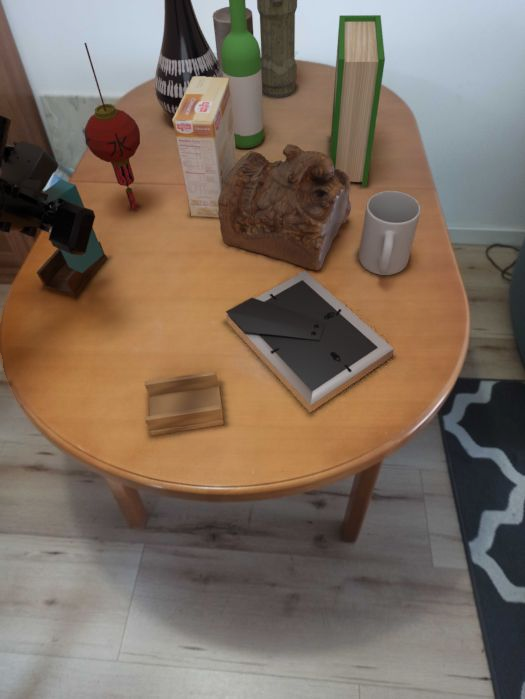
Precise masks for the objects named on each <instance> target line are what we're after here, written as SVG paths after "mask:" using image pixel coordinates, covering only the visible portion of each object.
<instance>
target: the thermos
mask: <svg viewBox="0 0 525 699" xmlns="http://www.w3.org/2000/svg"><path fill="white" fill-rule="evenodd" d="M256 8H257V12H258V15H259V30H260V32H259V33H260V34H259V35H260V54H261V74H262V95H264V96H267V97H269V98H275V99H276V98H278V99H279V98H285V97H289V96H291V95H293V94H294V93H295V92H296V89H297V86H296V85H297V84H296V81H297V78H298V77H297V74H298V68H297V67H298V65H297V62H296V59H295V58H296V56H295V52H296V51H295V49H296V46H295V45H296V44H295V43H296V12H297V8H298V0H256Z"/></svg>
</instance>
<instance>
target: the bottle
mask: <svg viewBox="0 0 525 699" xmlns="http://www.w3.org/2000/svg"><path fill="white" fill-rule="evenodd" d="M246 6H247V5H246V0H228V7H229V8H230V22H231V32H230V33H229V34H228V35H227V37H226V38H225V40H224V42H223V44H222V48H221V59H222V70H223V78H229V87H230V97H231V107H232V118H233V128H234V138H235V148H239V149H252V148H255V147H257V146H259V145H260V144H261V143H262V142H263V141H264V136H265V130H264V129H265V128H264V127H265V126H264V125H265V124H264V101H263V93H262V74H261V47H260V43H259V41H258V39H256V37H255V36H254V34H253V35H252V34H251V33H250V32H249V31H248V30H247V20H246V8H247V7H246Z"/></svg>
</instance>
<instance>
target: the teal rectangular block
mask: <svg viewBox="0 0 525 699" xmlns="http://www.w3.org/2000/svg"><path fill="white" fill-rule="evenodd" d="M43 192H44V193H47V194H48V198H47V202H46V203H45V204H48V203H49V202H50V201H54V202H57V203H58V200H59V198H61V199H63V200H66V201H68V202H71V203H74V204H77V205H80V206H82V207H85V205H84V202H83V200H82V198H81V194H80V193H79V190H78V187H77V185H76V184H75V183H72V182H69V181H67V180H64V179H59V180H58V181H57V182H55V183H54V184H52V185H51V186H50V187H48V188H47V189H46V190H44V191H43ZM45 213H46V214H48V212H45ZM99 242H100V241H99V239H98V237H97V235H96V232H95V229H94V226H93V227H92V230H91V234H90V238H89V242H88V245H87V249H86V253H85V254H83V255H74V254H70V253H68V252H65V251H63V250H61V249H60V250H61V252H62V254H63V256H64V258H65V260H66V262H67V264H68V266H69V268H72V269H74V270H76V271H78V272H81V273H83V272H84V271H85V270H86V269H88V268H89V267H90V266H91V265H92V264H93V263H94V262H96V261H97V260H98V259H99V258H100V257H101V256H102V255H103V252H102V249H101V247H100V244H99Z"/></svg>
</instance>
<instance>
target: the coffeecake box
mask: <svg viewBox="0 0 525 699" xmlns="http://www.w3.org/2000/svg"><path fill="white" fill-rule="evenodd" d="M171 121H172V124H173V130H174V133H175V140H176V145H177V150H178V155H179V160H180V164H181V170H182V175H183V179H184V180H183V181H184V184H185V189H186V194H187V199H188V205H189V206H188V207H189V210H190V211H189V212H190V216H191V217H201V218H204V217H207V218H209V217H210V218H217V219H219V215H218V210H219V205H218V199H219V196H220V193H221V191H222V188H223V185H224V181H225V179H226V178H227V176H228V175H229V173H230V171H231V170H232V168H233V167H234V166H235V165H236V164H237V163H238V160H237V150H236V148H237V147H236V146H235V138H234V128H233V118H232V107H231V97H230V87H229V78H223V77H206V76H194V77H192V79H191V81H190V83H189V85H188V88H187V90H186V92H185V94H184V96H183V98H182V100H181V102H180V105H179V107H178V109H177V111H176V113H175V115H174V118H172V120H171Z"/></svg>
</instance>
